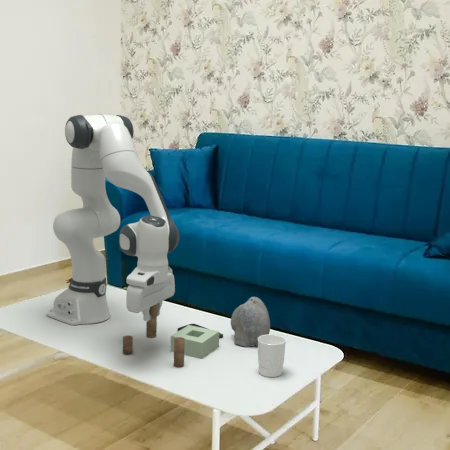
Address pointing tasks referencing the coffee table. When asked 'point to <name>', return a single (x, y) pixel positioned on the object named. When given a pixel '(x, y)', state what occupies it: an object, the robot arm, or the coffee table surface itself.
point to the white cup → (271, 355)
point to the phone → (201, 327)
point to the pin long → (152, 323)
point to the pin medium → (179, 351)
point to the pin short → (127, 345)
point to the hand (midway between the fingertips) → (151, 318)
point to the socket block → (197, 341)
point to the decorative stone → (250, 322)
